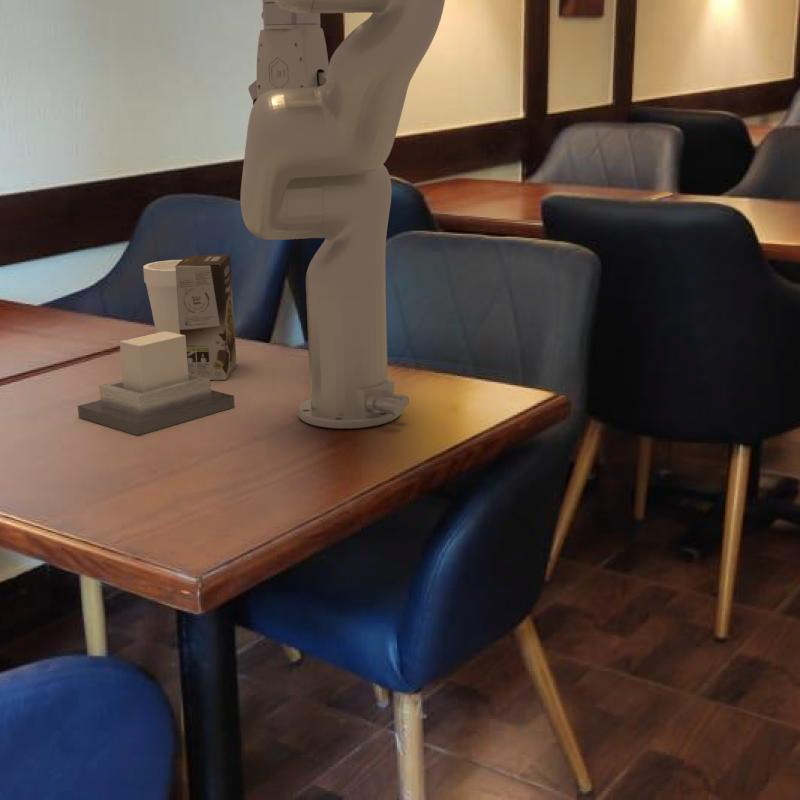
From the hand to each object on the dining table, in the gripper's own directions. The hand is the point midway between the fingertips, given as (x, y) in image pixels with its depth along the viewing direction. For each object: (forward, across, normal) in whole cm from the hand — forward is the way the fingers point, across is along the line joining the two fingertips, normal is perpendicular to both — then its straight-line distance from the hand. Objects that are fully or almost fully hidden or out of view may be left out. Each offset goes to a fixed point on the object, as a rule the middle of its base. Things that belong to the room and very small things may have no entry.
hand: (297, 149), depth 164 cm
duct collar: (+30, +2, -28) cm, 41 cm away
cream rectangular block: (+29, +2, -28) cm, 40 cm away
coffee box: (+31, -8, -11) cm, 33 cm away
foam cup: (+31, -22, -5) cm, 38 cm away
